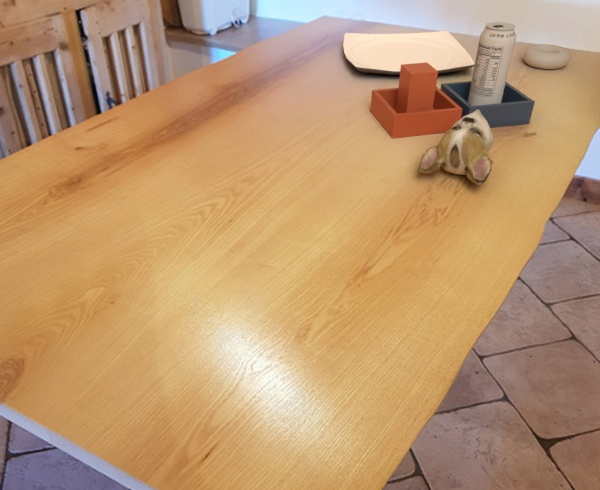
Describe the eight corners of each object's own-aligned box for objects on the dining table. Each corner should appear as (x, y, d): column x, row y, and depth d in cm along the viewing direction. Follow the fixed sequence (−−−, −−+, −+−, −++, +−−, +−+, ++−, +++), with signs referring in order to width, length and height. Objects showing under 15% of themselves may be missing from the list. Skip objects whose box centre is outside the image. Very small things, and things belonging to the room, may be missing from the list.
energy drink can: (505, 112, 103) (526, 26, 94) (482, 119, 101) (500, 32, 91) (482, 102, 107) (500, 18, 98) (459, 108, 105) (474, 23, 95)
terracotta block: (430, 121, 101) (438, 71, 95) (405, 124, 100) (411, 73, 94) (420, 111, 104) (427, 62, 98) (395, 113, 104) (400, 64, 98)
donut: (512, 63, 127) (550, 74, 121) (515, 47, 125) (554, 57, 118) (539, 55, 131) (576, 65, 125) (542, 39, 129) (581, 49, 123)
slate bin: (529, 123, 101) (535, 101, 98) (465, 130, 99) (470, 108, 96) (496, 98, 110) (501, 78, 108) (437, 104, 108) (441, 83, 106)
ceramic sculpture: (514, 104, 85) (492, 148, 75) (503, 155, 91) (480, 201, 81) (447, 94, 89) (417, 135, 79) (440, 143, 95) (412, 186, 85)
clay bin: (458, 131, 99) (462, 108, 96) (392, 138, 97) (394, 115, 94) (431, 105, 108) (434, 84, 105) (370, 111, 106) (371, 89, 104)
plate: (350, 82, 118) (350, 69, 117) (338, 42, 140) (338, 31, 138) (481, 79, 119) (483, 66, 117) (449, 40, 140) (451, 29, 139)
